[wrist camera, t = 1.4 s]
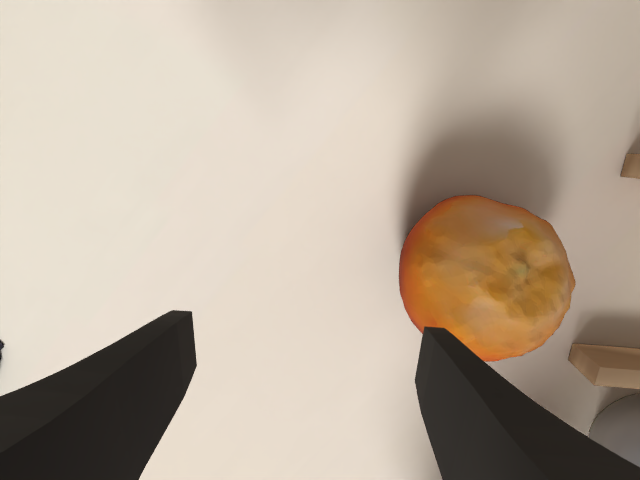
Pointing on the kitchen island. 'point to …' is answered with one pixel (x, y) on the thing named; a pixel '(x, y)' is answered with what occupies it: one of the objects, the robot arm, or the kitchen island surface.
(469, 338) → the fruit
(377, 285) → the kitchen island surface
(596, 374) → the wooden tray
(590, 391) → the kitchen island surface
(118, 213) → the kitchen island surface
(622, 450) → the grey round dome
